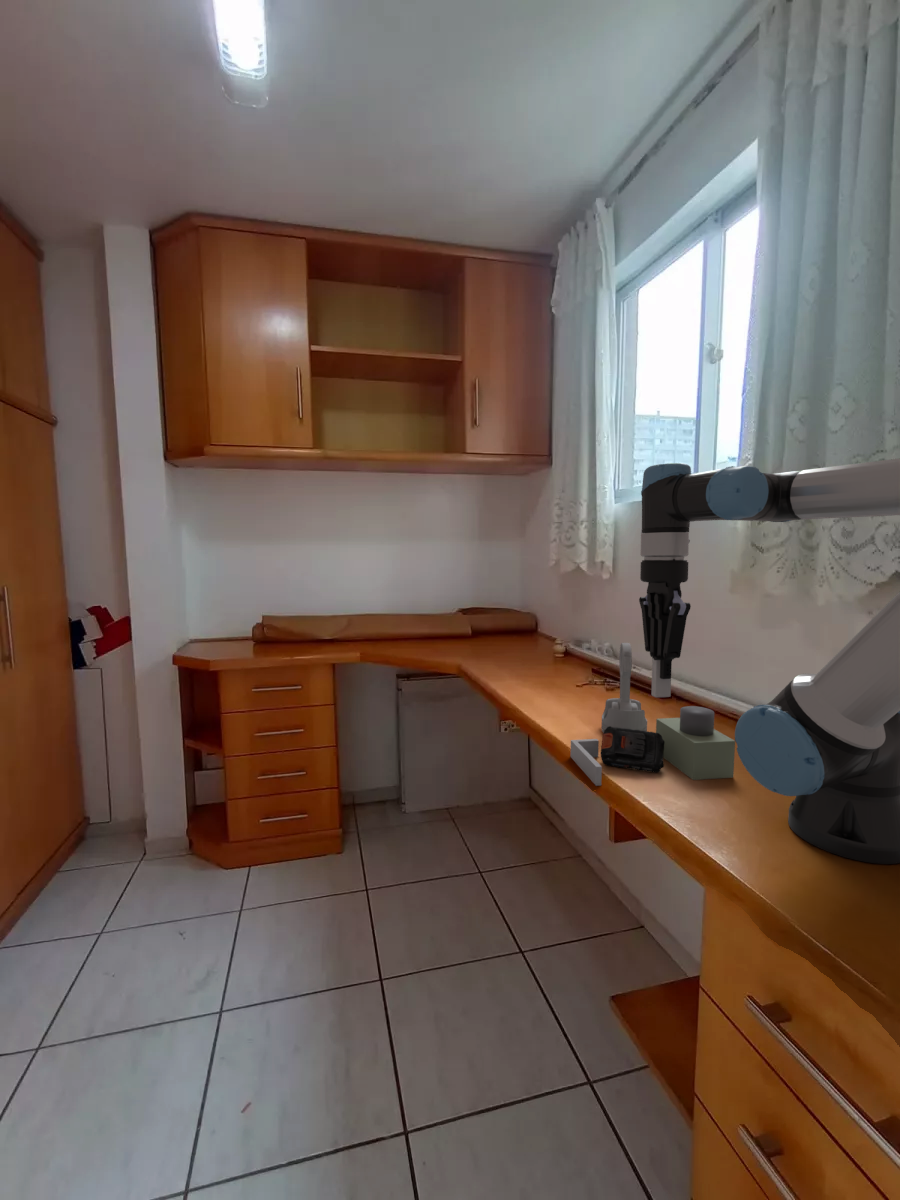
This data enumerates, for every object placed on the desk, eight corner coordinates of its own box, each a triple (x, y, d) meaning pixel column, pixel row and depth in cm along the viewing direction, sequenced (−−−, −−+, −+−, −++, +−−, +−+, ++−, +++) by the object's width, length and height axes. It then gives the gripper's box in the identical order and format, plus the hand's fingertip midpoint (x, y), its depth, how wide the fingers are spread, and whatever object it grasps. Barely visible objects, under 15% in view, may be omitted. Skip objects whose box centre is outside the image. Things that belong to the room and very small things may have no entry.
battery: (598, 767, 111) (596, 757, 105) (605, 728, 114) (604, 717, 109) (660, 783, 106) (662, 774, 100) (666, 742, 110) (668, 731, 104)
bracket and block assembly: (733, 777, 102) (736, 719, 101) (596, 785, 99) (597, 726, 97) (691, 749, 116) (693, 698, 114) (569, 755, 112) (570, 703, 111)
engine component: (602, 737, 123) (650, 740, 121) (605, 647, 121) (653, 648, 119) (599, 721, 134) (642, 724, 132) (601, 638, 131) (645, 640, 129)
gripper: (707, 558, 86) (703, 705, 89) (665, 557, 99) (662, 685, 102) (662, 559, 86) (659, 707, 88) (626, 558, 98) (623, 687, 101)
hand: (660, 695), depth 95 cm, fingers closed
